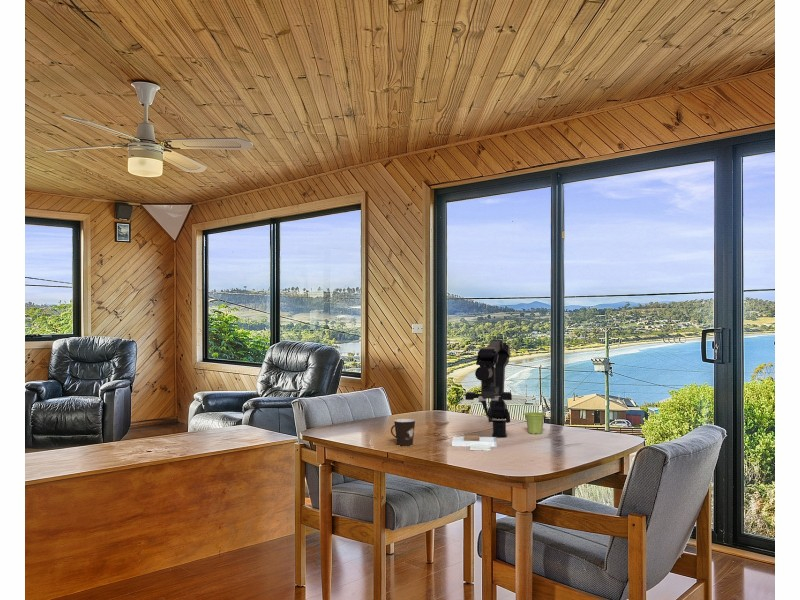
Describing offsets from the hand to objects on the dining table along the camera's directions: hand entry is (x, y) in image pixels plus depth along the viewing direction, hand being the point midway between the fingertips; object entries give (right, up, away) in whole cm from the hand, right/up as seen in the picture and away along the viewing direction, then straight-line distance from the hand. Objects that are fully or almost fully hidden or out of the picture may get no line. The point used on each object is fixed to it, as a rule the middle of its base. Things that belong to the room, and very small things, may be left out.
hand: (488, 417), depth 253 cm
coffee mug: (-36, -12, -1) cm, 38 cm away
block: (-7, -11, 0) cm, 13 cm away
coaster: (-5, -11, -9) cm, 15 cm away
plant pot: (+24, -12, +24) cm, 36 cm away
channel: (-6, -11, 0) cm, 13 cm away
